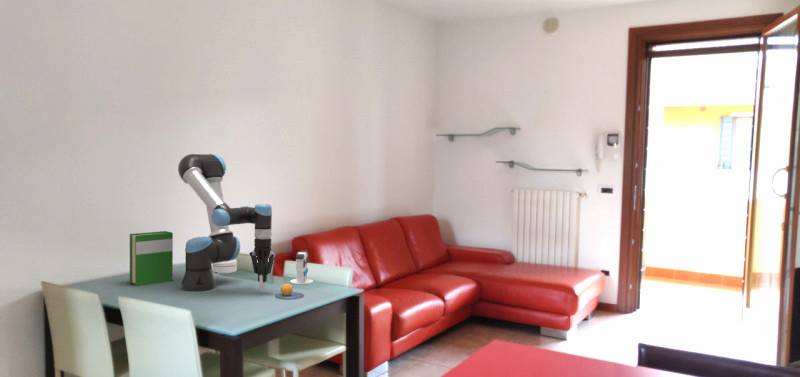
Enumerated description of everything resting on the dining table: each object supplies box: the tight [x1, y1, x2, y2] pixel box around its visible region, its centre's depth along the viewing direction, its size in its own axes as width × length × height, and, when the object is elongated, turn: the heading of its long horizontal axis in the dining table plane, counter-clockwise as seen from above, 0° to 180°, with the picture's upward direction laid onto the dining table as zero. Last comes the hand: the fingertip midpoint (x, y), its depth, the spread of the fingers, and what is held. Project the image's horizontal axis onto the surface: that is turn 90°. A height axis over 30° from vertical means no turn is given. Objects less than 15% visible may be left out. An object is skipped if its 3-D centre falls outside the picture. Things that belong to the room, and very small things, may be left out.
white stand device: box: [289, 250, 314, 285], centre depth 291 cm, size 12×11×15 cm
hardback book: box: [129, 230, 174, 287], centre depth 281 cm, size 18×7×24 cm, turn 137°
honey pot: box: [212, 257, 238, 274], centre depth 313 cm, size 13×13×18 cm
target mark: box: [274, 291, 305, 300], centre depth 262 cm, size 13×13×1 cm
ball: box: [280, 283, 294, 296], centre depth 262 cm, size 6×6×6 cm
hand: (262, 288), depth 266 cm, fingers closed
